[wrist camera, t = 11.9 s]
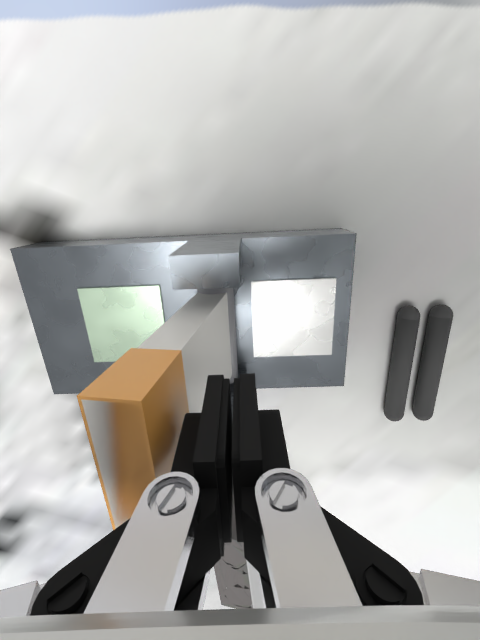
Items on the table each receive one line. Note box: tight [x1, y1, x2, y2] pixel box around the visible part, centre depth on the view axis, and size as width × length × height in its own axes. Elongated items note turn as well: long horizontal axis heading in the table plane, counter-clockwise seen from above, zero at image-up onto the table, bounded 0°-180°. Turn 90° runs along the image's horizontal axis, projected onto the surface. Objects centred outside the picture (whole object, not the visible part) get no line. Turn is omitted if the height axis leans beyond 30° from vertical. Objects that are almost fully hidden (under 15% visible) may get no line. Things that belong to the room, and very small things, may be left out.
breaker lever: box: [77, 288, 238, 530], centre depth 14 cm, size 2×6×12 cm, turn 3°
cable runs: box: [384, 305, 453, 421], centre depth 23 cm, size 4×9×1 cm, turn 3°
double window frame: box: [10, 228, 356, 421], centre depth 19 cm, size 20×10×8 cm, turn 93°
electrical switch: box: [214, 492, 264, 609], centre depth 25 cm, size 9×5×9 cm, turn 6°
